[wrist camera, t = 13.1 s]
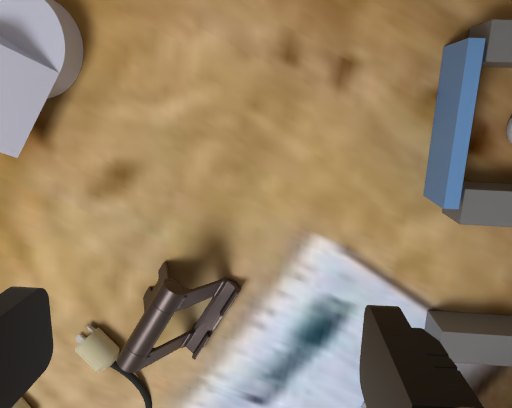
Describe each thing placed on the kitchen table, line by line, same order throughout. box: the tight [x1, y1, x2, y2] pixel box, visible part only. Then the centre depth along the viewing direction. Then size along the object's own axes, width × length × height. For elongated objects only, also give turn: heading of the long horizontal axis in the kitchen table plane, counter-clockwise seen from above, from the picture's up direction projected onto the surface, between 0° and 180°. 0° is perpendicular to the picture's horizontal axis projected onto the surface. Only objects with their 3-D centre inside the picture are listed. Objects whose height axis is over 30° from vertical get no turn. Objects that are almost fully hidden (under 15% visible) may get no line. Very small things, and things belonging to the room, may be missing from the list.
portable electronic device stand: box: [117, 262, 241, 373], centre depth 39 cm, size 9×8×8 cm
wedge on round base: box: [0, 0, 84, 158], centre depth 35 cm, size 9×7×13 cm
